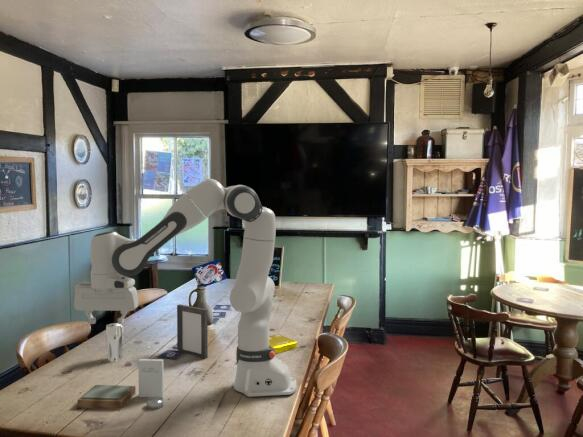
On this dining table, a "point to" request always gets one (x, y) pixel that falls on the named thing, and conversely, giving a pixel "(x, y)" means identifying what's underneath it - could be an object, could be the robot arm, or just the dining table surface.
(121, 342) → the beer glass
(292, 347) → the element tile
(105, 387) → the mirror
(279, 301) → the dining table surface
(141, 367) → the external hard drive
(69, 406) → the dining table surface
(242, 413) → the dining table surface
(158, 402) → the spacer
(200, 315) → the picture frame
